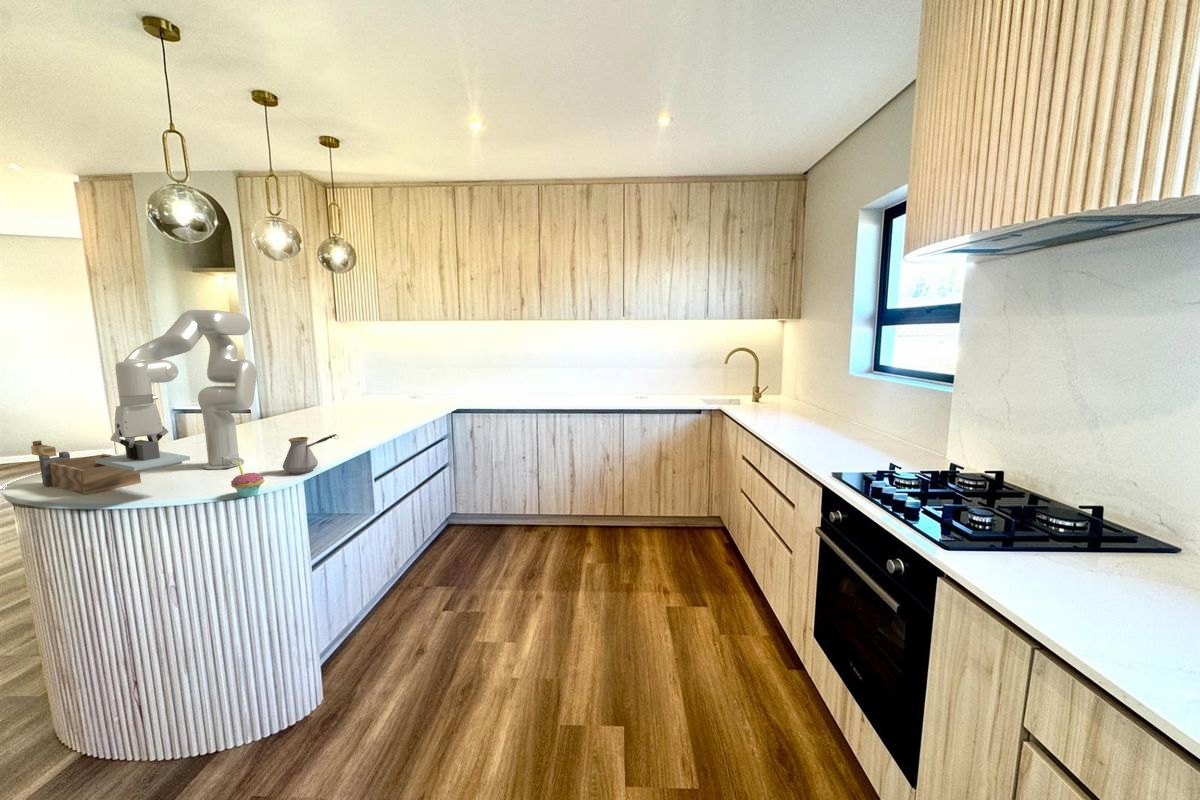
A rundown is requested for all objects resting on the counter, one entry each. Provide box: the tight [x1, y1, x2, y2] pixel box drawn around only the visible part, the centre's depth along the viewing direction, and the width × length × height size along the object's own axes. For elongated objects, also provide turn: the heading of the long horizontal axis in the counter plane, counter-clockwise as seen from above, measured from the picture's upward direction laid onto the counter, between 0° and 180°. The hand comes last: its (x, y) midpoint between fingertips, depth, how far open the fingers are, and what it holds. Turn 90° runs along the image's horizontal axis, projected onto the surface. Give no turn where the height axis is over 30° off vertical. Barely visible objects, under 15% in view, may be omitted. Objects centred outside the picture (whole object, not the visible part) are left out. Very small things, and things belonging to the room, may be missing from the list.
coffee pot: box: [282, 433, 339, 475], centre depth 177 cm, size 21×12×15 cm, turn 85°
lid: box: [95, 439, 191, 473], centre depth 149 cm, size 22×14×7 cm, turn 68°
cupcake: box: [230, 461, 265, 498], centre depth 152 cm, size 9×8×12 cm
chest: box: [38, 451, 142, 496], centre depth 161 cm, size 25×15×11 cm, turn 68°
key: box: [30, 440, 57, 458], centre depth 163 cm, size 10×2×4 cm, turn 68°
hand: (143, 456), depth 149 cm, fingers closed on lid, 4 cm apart
